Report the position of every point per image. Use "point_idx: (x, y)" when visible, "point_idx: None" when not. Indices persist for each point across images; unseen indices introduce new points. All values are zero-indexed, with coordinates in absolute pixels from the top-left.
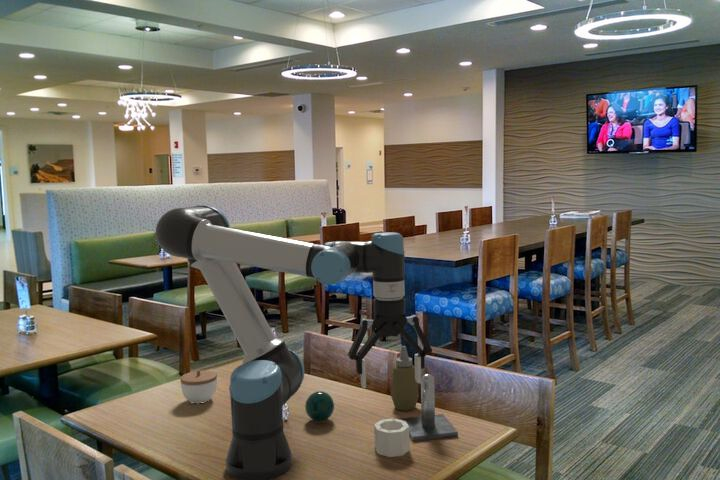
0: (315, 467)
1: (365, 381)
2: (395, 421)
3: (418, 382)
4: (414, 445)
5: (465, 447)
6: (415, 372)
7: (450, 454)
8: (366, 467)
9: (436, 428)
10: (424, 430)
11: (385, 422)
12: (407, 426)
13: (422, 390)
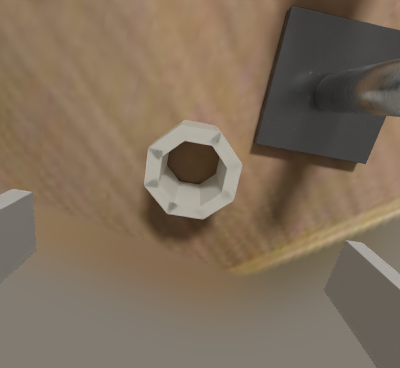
0: (12, 171)
1: (2, 278)
2: (216, 151)
3: (328, 293)
4: (247, 162)
5: (334, 211)
6: (375, 284)
7: (289, 224)
8: (116, 209)
9: (336, 124)
10: (302, 122)
11: (187, 140)
12: (229, 198)
13: (397, 92)
